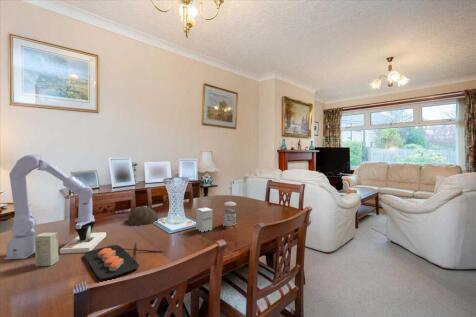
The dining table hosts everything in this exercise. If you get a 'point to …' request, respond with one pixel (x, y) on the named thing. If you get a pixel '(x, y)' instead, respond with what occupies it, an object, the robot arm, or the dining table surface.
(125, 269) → the sushi plate
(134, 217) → the decorative dome
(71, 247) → the hole board
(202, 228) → the supplement box
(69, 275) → the dining table surface
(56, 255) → the skincare box
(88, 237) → the peg
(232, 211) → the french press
